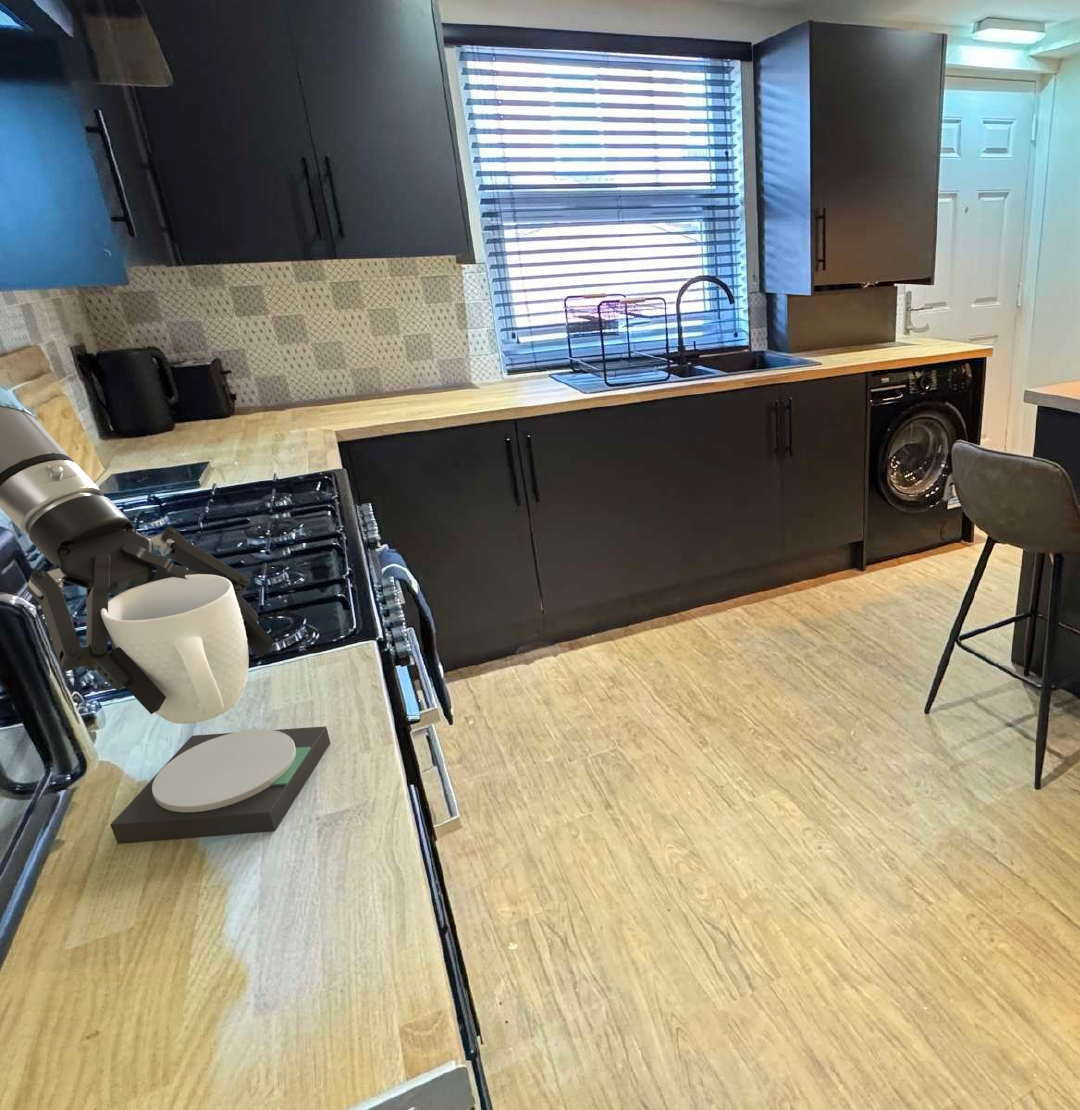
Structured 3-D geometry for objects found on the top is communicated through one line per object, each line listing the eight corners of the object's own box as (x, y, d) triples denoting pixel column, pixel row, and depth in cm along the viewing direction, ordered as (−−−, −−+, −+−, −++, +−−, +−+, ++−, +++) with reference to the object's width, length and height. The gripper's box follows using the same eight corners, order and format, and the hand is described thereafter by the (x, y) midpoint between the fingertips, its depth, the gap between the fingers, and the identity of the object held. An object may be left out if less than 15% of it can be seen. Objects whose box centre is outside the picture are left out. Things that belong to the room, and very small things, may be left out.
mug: (286, 723, 80) (255, 609, 75) (157, 770, 73) (114, 649, 68) (248, 668, 90) (218, 564, 85) (131, 705, 83) (92, 594, 78)
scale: (117, 843, 78) (107, 818, 76) (197, 752, 91) (190, 729, 90) (275, 831, 79) (267, 805, 78) (330, 743, 93) (324, 720, 92)
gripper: (-74, 532, 67) (102, 721, 68) (190, 463, 87) (324, 608, 88) (-84, 580, 71) (83, 758, 71) (171, 503, 91) (299, 642, 92)
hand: (216, 676), depth 80 cm, fingers closed on mug, 11 cm apart
